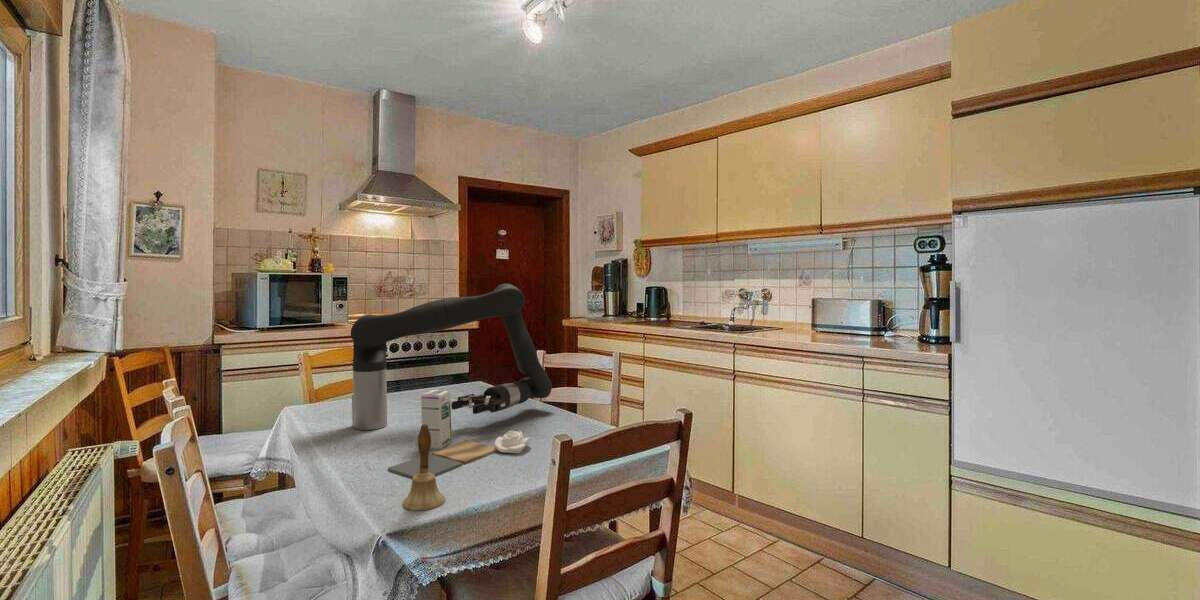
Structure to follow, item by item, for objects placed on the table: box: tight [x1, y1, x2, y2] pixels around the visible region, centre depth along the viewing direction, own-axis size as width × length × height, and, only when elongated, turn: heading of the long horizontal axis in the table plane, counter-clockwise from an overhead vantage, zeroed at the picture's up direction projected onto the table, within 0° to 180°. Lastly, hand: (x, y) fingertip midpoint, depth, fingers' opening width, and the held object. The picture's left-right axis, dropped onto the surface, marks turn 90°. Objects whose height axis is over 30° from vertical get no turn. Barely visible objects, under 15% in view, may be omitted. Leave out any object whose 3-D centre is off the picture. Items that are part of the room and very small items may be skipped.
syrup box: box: [420, 389, 453, 450], centre depth 148 cm, size 6×6×14 cm
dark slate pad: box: [387, 453, 463, 479], centre depth 132 cm, size 12×12×1 cm
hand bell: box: [402, 424, 446, 511], centre depth 113 cm, size 8×8×16 cm
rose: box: [493, 429, 532, 454], centre depth 146 cm, size 10×4×10 cm
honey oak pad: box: [431, 439, 499, 465], centre depth 143 cm, size 12×12×1 cm
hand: (462, 408), depth 156 cm, fingers open, 8 cm apart
